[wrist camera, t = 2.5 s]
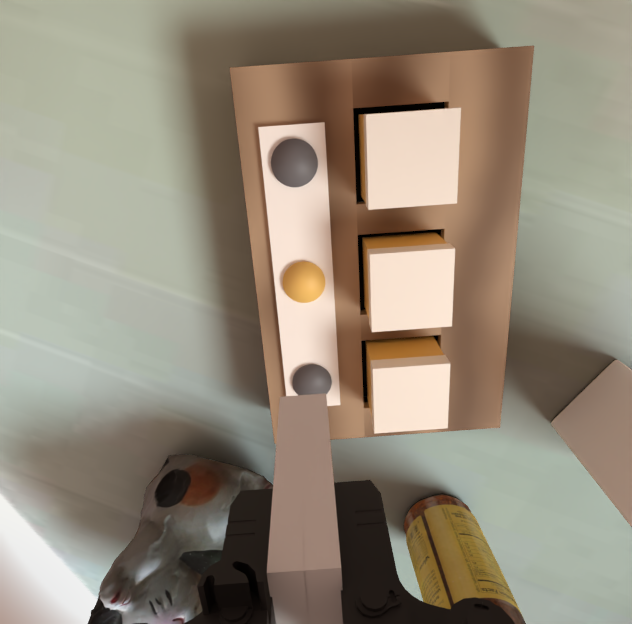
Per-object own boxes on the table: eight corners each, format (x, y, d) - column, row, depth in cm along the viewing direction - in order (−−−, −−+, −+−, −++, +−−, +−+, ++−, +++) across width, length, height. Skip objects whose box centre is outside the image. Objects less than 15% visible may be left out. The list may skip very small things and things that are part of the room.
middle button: (436, 231, 30) (455, 248, 27) (434, 301, 32) (451, 326, 28) (361, 236, 30) (369, 254, 27) (363, 306, 32) (371, 332, 28)
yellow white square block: (439, 107, 28) (461, 107, 24) (437, 191, 29) (457, 203, 26) (357, 113, 28) (366, 114, 24) (360, 197, 29) (368, 209, 26)
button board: (505, 53, 30) (534, 45, 26) (481, 397, 39) (499, 427, 35) (238, 72, 30) (229, 67, 26) (277, 411, 39) (274, 443, 35)
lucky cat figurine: (313, 553, 45) (244, 744, 35) (199, 517, 49) (109, 679, 39) (284, 455, 35) (178, 682, 25) (146, 421, 39) (10, 604, 30)
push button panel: (324, 122, 27) (324, 122, 27) (340, 402, 34) (340, 406, 34) (258, 127, 27) (257, 127, 27) (287, 406, 34) (287, 410, 34)
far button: (433, 334, 33) (450, 363, 29) (432, 394, 35) (447, 428, 31) (364, 339, 33) (372, 369, 29) (366, 398, 35) (374, 433, 31)
